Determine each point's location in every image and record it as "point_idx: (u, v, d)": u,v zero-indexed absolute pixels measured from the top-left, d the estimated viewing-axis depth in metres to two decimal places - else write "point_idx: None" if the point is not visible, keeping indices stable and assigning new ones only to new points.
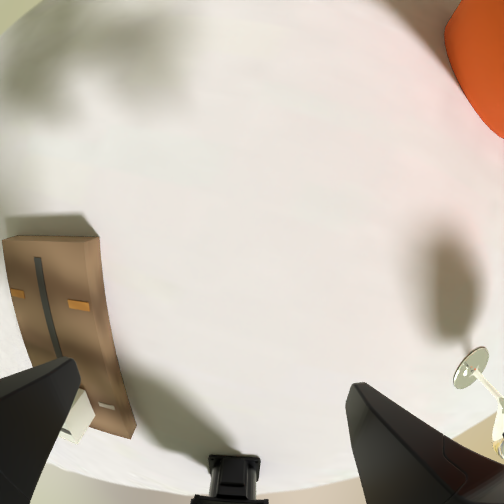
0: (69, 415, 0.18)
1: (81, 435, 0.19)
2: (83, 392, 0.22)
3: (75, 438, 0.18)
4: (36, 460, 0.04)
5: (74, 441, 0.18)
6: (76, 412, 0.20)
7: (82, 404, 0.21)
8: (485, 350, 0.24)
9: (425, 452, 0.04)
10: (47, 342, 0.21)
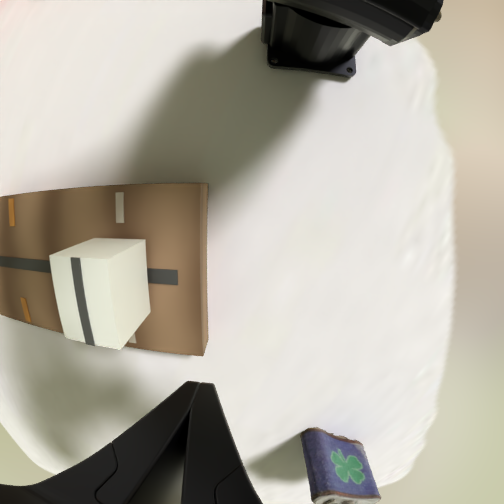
0: (64, 251, 0.13)
1: (115, 253, 0.13)
2: (92, 239, 0.16)
3: (94, 257, 0.12)
4: None
5: (99, 262, 0.12)
6: (83, 246, 0.14)
7: (96, 242, 0.15)
8: None
9: (196, 473, 0.04)
10: None
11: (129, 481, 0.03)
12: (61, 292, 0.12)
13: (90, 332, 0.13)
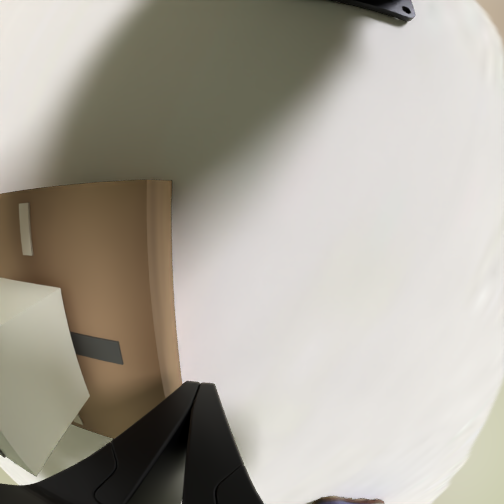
0: None
1: None
2: None
3: None
4: None
5: None
6: None
7: None
8: None
9: (197, 473, 0.04)
10: None
11: (128, 481, 0.03)
12: None
13: None
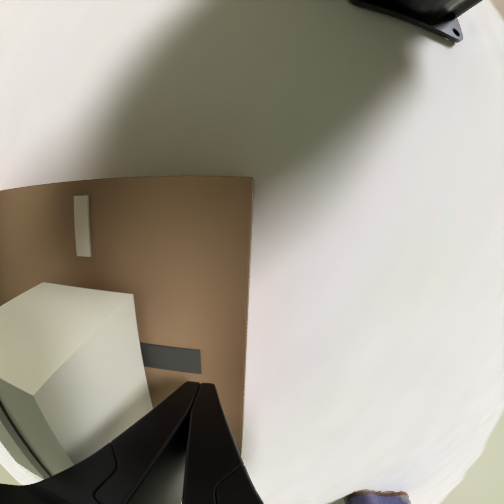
0: None
1: (58, 357, 0.04)
2: (38, 286, 0.08)
3: (9, 375, 0.03)
4: None
5: (20, 393, 0.03)
6: (11, 314, 0.05)
7: (39, 298, 0.07)
8: None
9: (197, 473, 0.04)
10: None
11: (128, 481, 0.03)
12: None
13: None
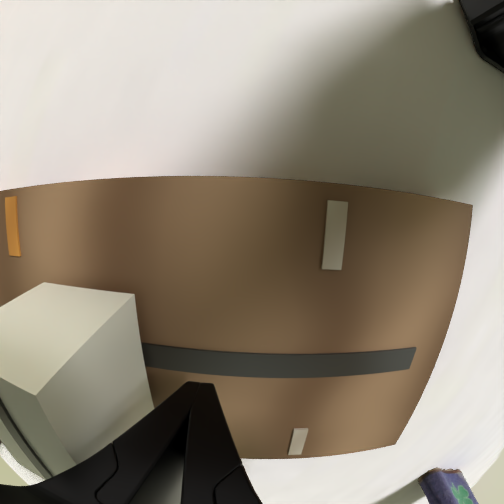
0: None
1: (60, 356, 0.04)
2: (39, 286, 0.08)
3: (11, 374, 0.03)
4: None
5: (21, 393, 0.03)
6: (12, 315, 0.05)
7: (40, 298, 0.07)
8: None
9: (195, 473, 0.04)
10: None
11: (129, 482, 0.03)
12: None
13: None
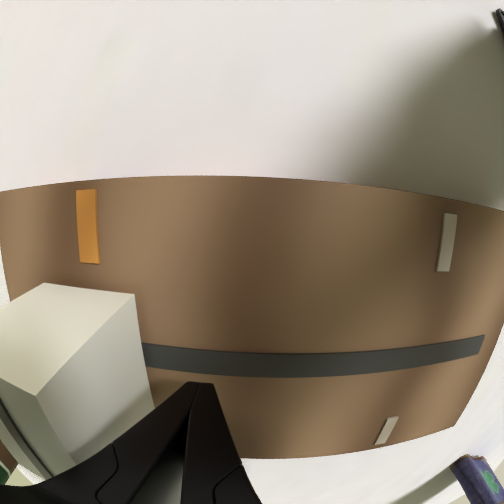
0: None
1: (60, 357, 0.04)
2: (39, 287, 0.08)
3: (11, 375, 0.03)
4: None
5: (21, 394, 0.03)
6: (12, 315, 0.05)
7: (40, 299, 0.07)
8: None
9: (195, 473, 0.04)
10: (239, 391, 0.09)
11: (130, 481, 0.03)
12: None
13: None
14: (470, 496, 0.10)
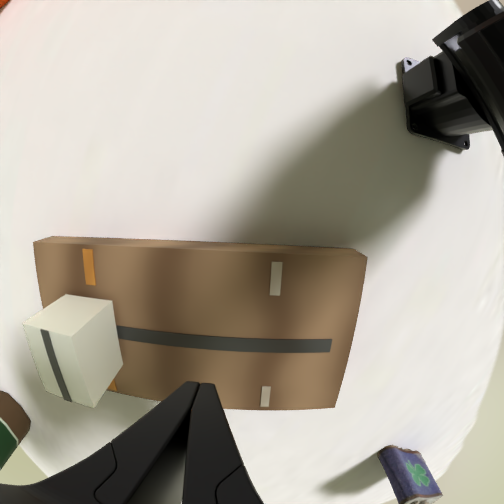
0: (36, 316, 0.12)
1: (80, 325, 0.12)
2: (64, 296, 0.16)
3: (60, 331, 0.11)
4: None
5: (65, 337, 0.11)
6: (54, 310, 0.13)
7: (66, 302, 0.15)
8: None
9: (197, 473, 0.04)
10: (165, 354, 0.17)
11: (128, 481, 0.03)
12: (37, 355, 0.11)
13: (66, 391, 0.12)
14: (391, 483, 0.18)
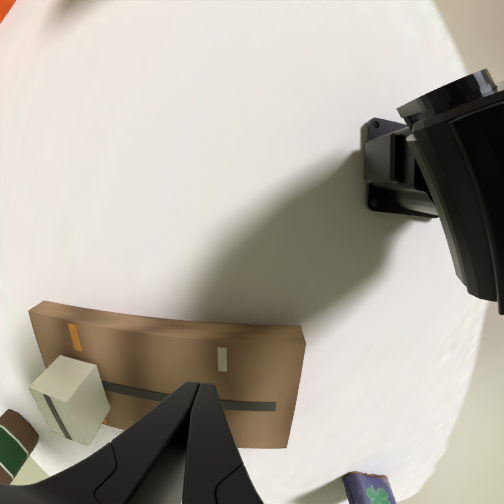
0: (38, 380, 0.14)
1: (72, 391, 0.14)
2: (58, 357, 0.18)
3: (58, 397, 0.13)
4: None
5: (62, 402, 0.13)
6: (51, 374, 0.15)
7: (60, 365, 0.17)
8: None
9: (197, 473, 0.04)
10: (142, 404, 0.19)
11: (127, 481, 0.03)
12: (42, 408, 0.14)
13: (67, 433, 0.14)
14: None
